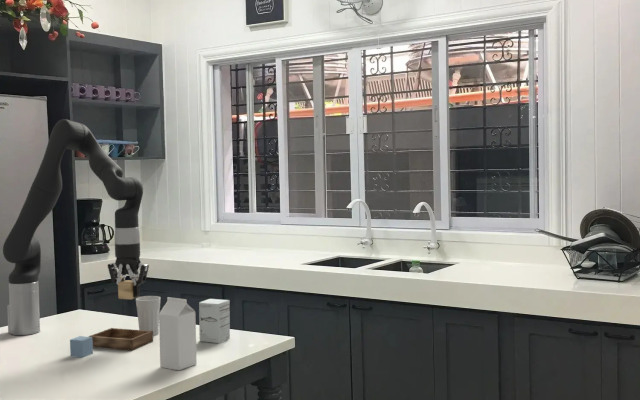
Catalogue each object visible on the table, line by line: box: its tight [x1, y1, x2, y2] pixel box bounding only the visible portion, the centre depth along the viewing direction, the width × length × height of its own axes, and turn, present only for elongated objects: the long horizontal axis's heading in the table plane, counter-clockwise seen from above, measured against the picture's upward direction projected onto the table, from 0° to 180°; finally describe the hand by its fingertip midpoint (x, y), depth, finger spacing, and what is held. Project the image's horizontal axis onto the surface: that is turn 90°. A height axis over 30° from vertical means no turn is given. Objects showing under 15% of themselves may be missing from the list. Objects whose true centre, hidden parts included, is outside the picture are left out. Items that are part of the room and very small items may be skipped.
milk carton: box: [158, 296, 198, 371], centre depth 197 cm, size 7×7×19 cm
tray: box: [87, 327, 154, 352], centre depth 222 cm, size 16×12×3 cm
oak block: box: [117, 279, 138, 300], centre depth 220 cm, size 4×4×5 cm
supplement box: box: [198, 298, 231, 344], centre depth 226 cm, size 7×7×13 cm
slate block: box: [69, 335, 94, 358], centre depth 211 cm, size 4×4×5 cm
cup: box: [135, 295, 161, 337], centre depth 235 cm, size 8×8×12 cm
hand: (129, 296), depth 220 cm, fingers closed on oak block, 4 cm apart
